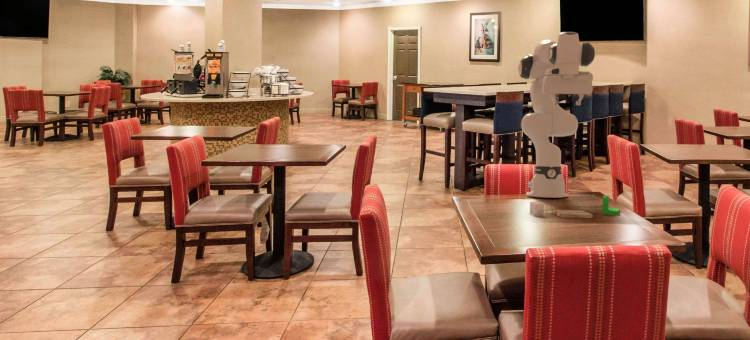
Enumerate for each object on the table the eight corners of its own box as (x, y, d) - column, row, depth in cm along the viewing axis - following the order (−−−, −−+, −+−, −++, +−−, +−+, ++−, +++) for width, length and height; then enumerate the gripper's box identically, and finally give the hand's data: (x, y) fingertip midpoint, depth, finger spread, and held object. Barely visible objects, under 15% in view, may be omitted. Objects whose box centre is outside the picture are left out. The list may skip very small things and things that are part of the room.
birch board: (552, 213, 257) (552, 209, 257) (581, 213, 257) (581, 210, 256) (562, 217, 243) (562, 214, 243) (592, 218, 243) (592, 214, 242)
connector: (528, 213, 256) (529, 201, 256) (538, 213, 256) (538, 201, 255) (536, 217, 243) (536, 204, 243) (546, 217, 243) (546, 204, 243)
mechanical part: (617, 216, 251) (618, 196, 251) (602, 215, 254) (602, 195, 253) (619, 213, 262) (620, 194, 262) (604, 212, 264) (605, 193, 264)
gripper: (590, 72, 255) (589, 105, 256) (541, 71, 256) (540, 105, 256) (595, 70, 249) (594, 105, 250) (545, 70, 249) (544, 104, 250)
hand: (566, 105), depth 253 cm, fingers open, 8 cm apart
